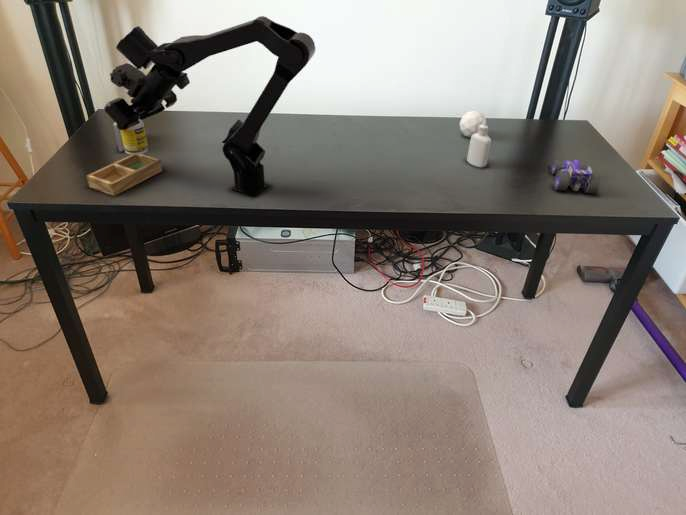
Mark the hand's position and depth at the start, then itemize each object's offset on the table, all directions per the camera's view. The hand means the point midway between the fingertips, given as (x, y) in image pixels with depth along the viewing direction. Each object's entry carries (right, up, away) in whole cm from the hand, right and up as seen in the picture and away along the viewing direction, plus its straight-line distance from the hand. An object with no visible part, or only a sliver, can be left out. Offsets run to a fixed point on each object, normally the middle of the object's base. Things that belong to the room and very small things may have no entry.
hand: (127, 124), depth 125 cm
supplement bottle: (+1, -6, +3) cm, 7 cm away
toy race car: (+110, -12, +12) cm, 111 cm away
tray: (-1, -12, +3) cm, 13 cm away
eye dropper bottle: (+88, -6, +18) cm, 90 cm away
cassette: (-8, 0, +20) cm, 22 cm away
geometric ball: (+90, +5, +34) cm, 96 cm away
